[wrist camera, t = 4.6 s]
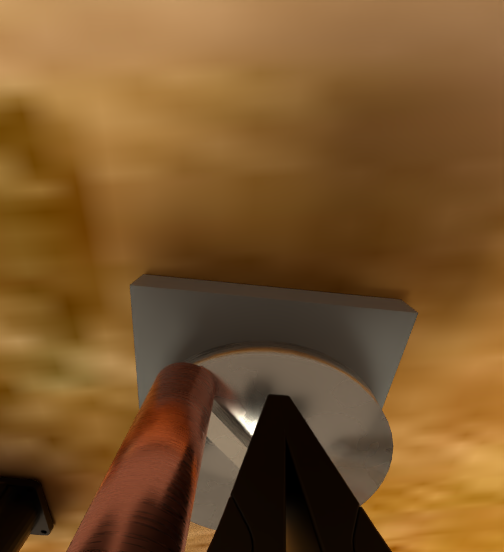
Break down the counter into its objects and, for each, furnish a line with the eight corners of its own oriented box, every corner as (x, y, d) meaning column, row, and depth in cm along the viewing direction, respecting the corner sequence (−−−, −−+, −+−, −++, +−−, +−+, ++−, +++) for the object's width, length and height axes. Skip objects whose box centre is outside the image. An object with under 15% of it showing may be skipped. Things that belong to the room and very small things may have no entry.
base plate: (342, 469, 18) (349, 493, 17) (153, 453, 18) (144, 476, 17) (401, 299, 13) (418, 313, 12) (143, 274, 13) (129, 285, 12)
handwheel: (400, 432, 15) (559, 703, 7) (234, 500, 17) (218, 756, 9) (289, 261, 11) (367, 433, 3) (100, 378, 13) (-102, 631, 6)
